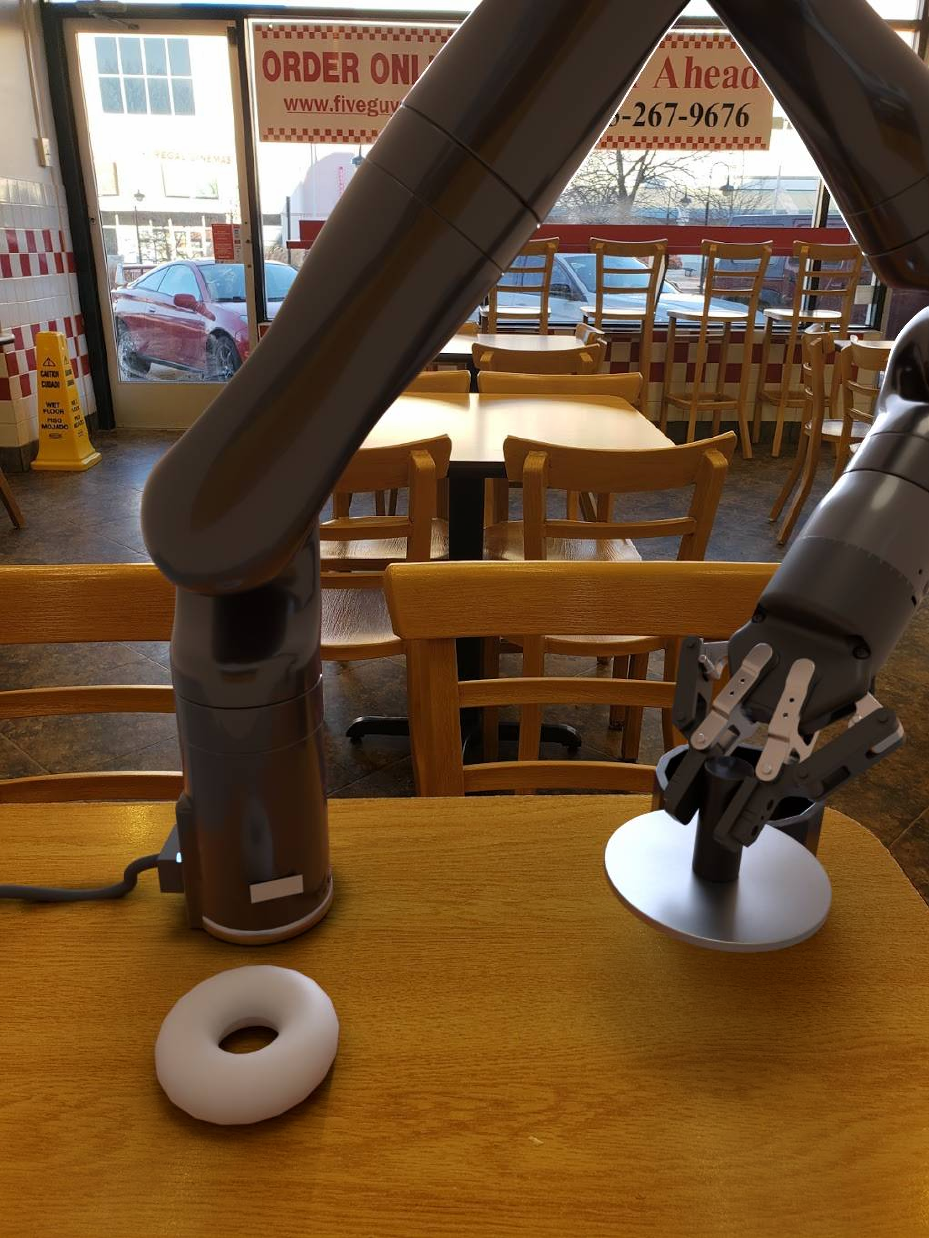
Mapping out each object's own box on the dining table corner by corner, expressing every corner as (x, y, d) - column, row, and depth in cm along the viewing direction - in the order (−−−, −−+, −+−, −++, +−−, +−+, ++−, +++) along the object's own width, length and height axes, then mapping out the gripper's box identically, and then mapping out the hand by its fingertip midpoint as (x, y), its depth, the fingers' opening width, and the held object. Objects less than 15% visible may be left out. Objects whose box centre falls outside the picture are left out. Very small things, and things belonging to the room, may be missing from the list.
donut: (316, 1150, 48) (356, 1002, 57) (313, 1101, 46) (354, 957, 56) (127, 1132, 49) (196, 988, 58) (118, 1083, 47) (191, 944, 56)
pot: (662, 932, 63) (674, 825, 60) (634, 835, 74) (643, 739, 71) (831, 935, 63) (852, 827, 60) (779, 837, 74) (794, 741, 71)
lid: (620, 960, 47) (632, 831, 45) (590, 822, 59) (598, 712, 56) (865, 964, 47) (893, 836, 45) (787, 825, 59) (805, 716, 56)
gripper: (729, 507, 56) (573, 752, 53) (971, 567, 46) (794, 872, 43) (768, 575, 61) (628, 801, 58) (993, 642, 51) (837, 919, 48)
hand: (699, 830), depth 50 cm, fingers closed on lid, 2 cm apart
